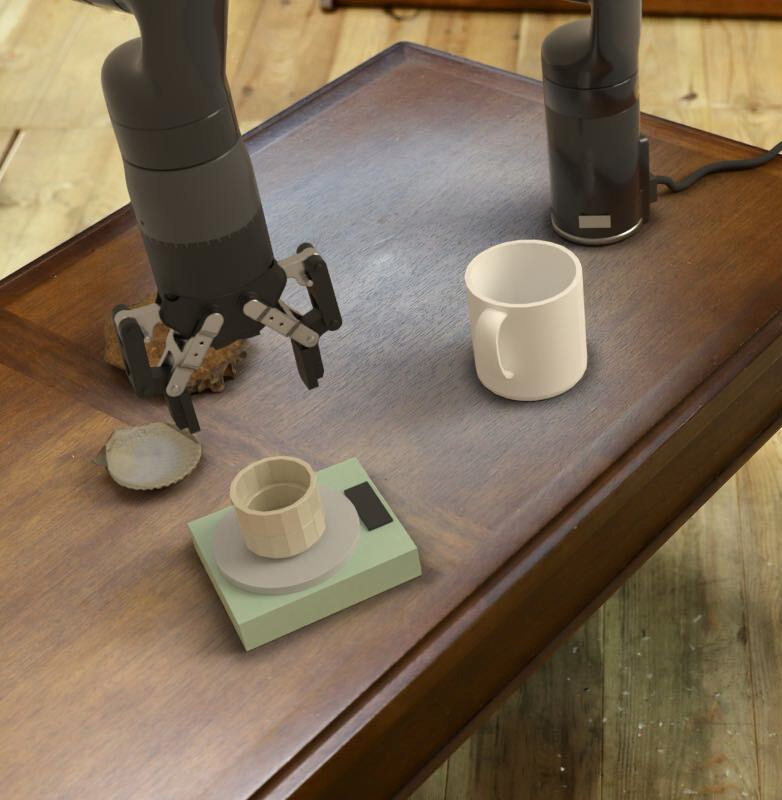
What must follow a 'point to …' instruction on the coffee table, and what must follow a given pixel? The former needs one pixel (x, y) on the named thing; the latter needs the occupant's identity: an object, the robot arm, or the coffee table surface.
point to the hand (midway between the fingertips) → (252, 404)
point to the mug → (527, 319)
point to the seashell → (150, 455)
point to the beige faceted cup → (278, 506)
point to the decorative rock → (204, 377)
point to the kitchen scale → (309, 560)
